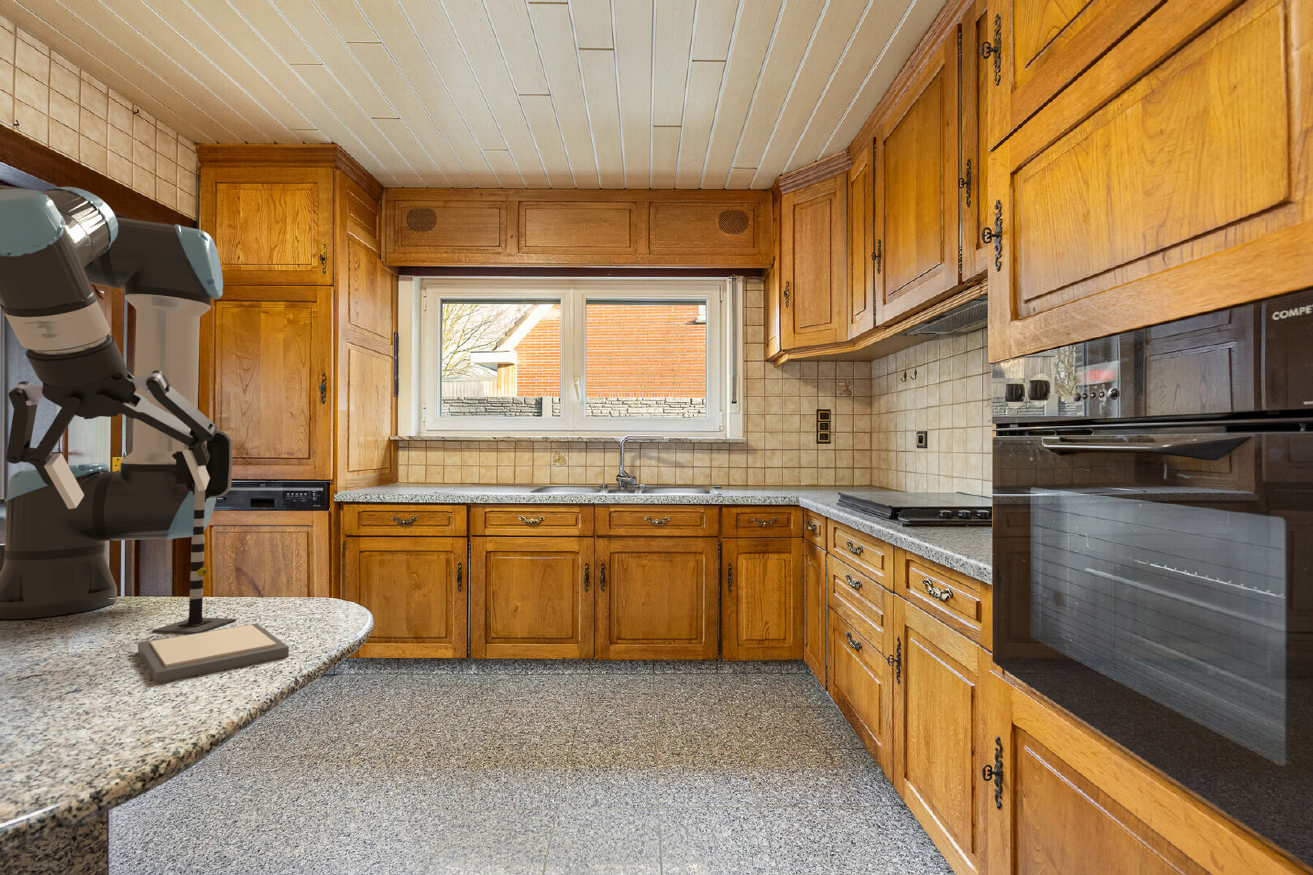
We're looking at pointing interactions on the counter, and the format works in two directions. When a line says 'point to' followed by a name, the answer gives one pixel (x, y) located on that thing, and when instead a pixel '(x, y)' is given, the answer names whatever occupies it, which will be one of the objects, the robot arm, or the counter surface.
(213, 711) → the counter surface
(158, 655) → the plate
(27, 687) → the counter surface
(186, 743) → the counter surface
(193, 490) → the miniature traffic light
